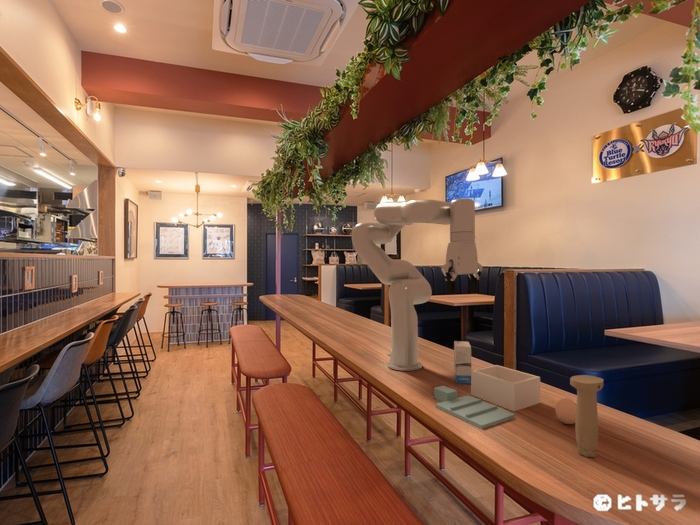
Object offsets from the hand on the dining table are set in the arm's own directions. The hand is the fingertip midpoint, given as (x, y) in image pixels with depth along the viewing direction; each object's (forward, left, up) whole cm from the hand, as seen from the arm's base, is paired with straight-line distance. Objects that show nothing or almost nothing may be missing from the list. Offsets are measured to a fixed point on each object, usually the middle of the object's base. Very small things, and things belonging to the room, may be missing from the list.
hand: (462, 292), depth 120 cm
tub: (+16, -1, -28) cm, 33 cm away
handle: (+44, -13, -28) cm, 54 cm away
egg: (+34, -2, -28) cm, 44 cm away
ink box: (-2, +2, -29) cm, 29 cm away
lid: (+15, -15, -28) cm, 36 cm away
